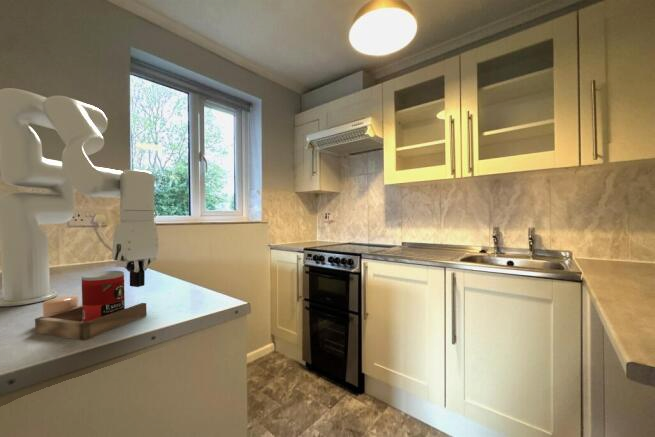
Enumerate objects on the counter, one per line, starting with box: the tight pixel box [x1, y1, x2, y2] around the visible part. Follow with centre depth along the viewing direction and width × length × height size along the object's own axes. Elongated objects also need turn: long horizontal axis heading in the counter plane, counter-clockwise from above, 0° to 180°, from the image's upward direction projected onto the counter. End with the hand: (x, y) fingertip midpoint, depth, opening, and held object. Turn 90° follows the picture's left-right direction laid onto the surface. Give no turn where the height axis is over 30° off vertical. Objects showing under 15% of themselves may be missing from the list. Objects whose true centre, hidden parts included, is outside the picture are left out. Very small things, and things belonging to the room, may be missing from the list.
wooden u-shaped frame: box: [34, 302, 148, 341], centre depth 65 cm, size 14×14×3 cm
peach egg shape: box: [42, 295, 79, 317], centre depth 67 cm, size 6×6×5 cm
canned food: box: [81, 270, 126, 322], centre depth 66 cm, size 8×8×11 cm
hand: (137, 285), depth 76 cm, fingers closed
